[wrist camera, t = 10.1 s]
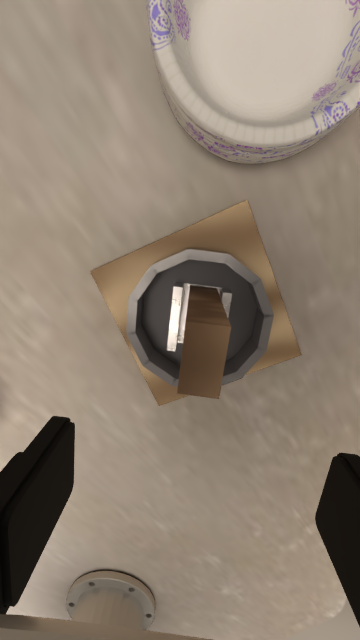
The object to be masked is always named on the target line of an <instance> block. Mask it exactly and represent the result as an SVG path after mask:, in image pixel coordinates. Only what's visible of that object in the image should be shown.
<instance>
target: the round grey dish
mask: <svg viewBox="0 0 360 640" xmlns="http://www.w3.org/2000/svg"><path fill="white" fill-rule="evenodd" d="M175 282H180V283H188V284H196V285H205V286H213V287H221V288H230V291H231V292H232V298H231V304H230V310H229V316H228V320H229V322H230V325H231V331H230V337H229V343H228V349H227V354H226V360H225V366H224V372H223V378H222V384H221V386H222V385H225V384H227V383H230V382H233V381H236V380H239V379H241V378H243V376H244V375H245V374H246V373H247V372H248V371H249V370H250V369H251V368H252V367H253V365H254V364H255V363H256V362H257V361H258V360H259V359H260V358H261V357H262V356H263V354H264V353H265V352H266V351H267V346H268V341H269V337H270V332H271V327H272V322H273V318H274V313H273V311H272V308H271V305H270V302H269V300H268V297H267V294H266V291H265V289H264V286H263V283H262V280H261V278H259V277H258V276H257V275H255V274H254V273H253V272H252V271H250V270H249V269H248V268H246V267H245V266H244V265H243V264H241V263H240V262H239V261H238V260H236V259H235V258H234V257H232V256H231V255H230V254H228V253H227V252H223V251H215V250H208V249H198V248H186V249H184V250H182V251H180V252H177V253H175V254H172V255H171V256H168V257H166V258H164V259H162V260H159V261H157V262H155V263H154V264H152V265H151V266H150V267H149V269H148V270H147V272H146V273H145V274H144V276H143V277H142V279H141V280H140V282H139V283H138V284H137V286H136V287H135V289H134V290H133V292H132V293H131V294H130V296H129V298H128V313H127V329H126V334H127V336H128V338H129V340H130V342H131V344H132V346H133V348H134V350H135V352H136V354H137V356H138V358H139V360H140V362H141V364H142V365H143V367H145V368H146V369H148V370H149V371H151V372H152V373H154V374H155V375H157V376H158V377H159V378H161V379H162V380H164V381H165V382H167V383H168V384H170V385H171V386H176V387H178V381H179V373H180V364H181V356H182V348H183V343H177V345H176V351H167V343H168V334H169V325H170V315H171V306H172V297H173V287H174V284H175Z"/></svg>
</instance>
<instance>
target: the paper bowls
mask: <svg viewBox="0 0 360 640" xmlns="http://www.w3.org/2000/svg"><path fill="white" fill-rule="evenodd" d="M147 22H148V29H149V36H150V41H151V45H152V50H153V54H154V57H155V61H156V66H157V69H158V73H159V77H160V80H161V84H162V87H163V90H164V93H165V96H166V98H167V101H168V103H169V106H170V108H171V110H172V112H173V113H174V115H175V117H176V119H177V120H178V122H179V123H180V125H181V126H182V127H183V128H184V129H185V131H186V132H187V133H188V134H189V135H190V136H191V137H192V138H193V139H194V140H195V141H196V142H197V143H199V144H200V145H201V146H202V147H204V148H205V149H207V150H208V151H210V152H211V153H213V154H215V155H217V156H219V157H221V158H223V159H225V160H228V161H232V162H237V163H246V164H260V163H268V162H272V161H277V160H281V159H284V158H287V157H290V156H292V155H295V154H297V153H299V152H301V151H303V150H305V149H307V148H309V147H310V146H312V145H313V144H315V143H316V142H318V141H319V140H321V139H322V138H323V137H325V136H326V135H327V134H328V133H330V132H331V131H332V130H333V129H335V128H336V127H337V126H338V125H339V124H340V123H342V122H343V121H344V120H345V119H347V118H348V117H349V116H350V115H351V114H353V113H354V112H355V111H356V110H357V109H358V108H359V107H360V0H147Z"/></svg>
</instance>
